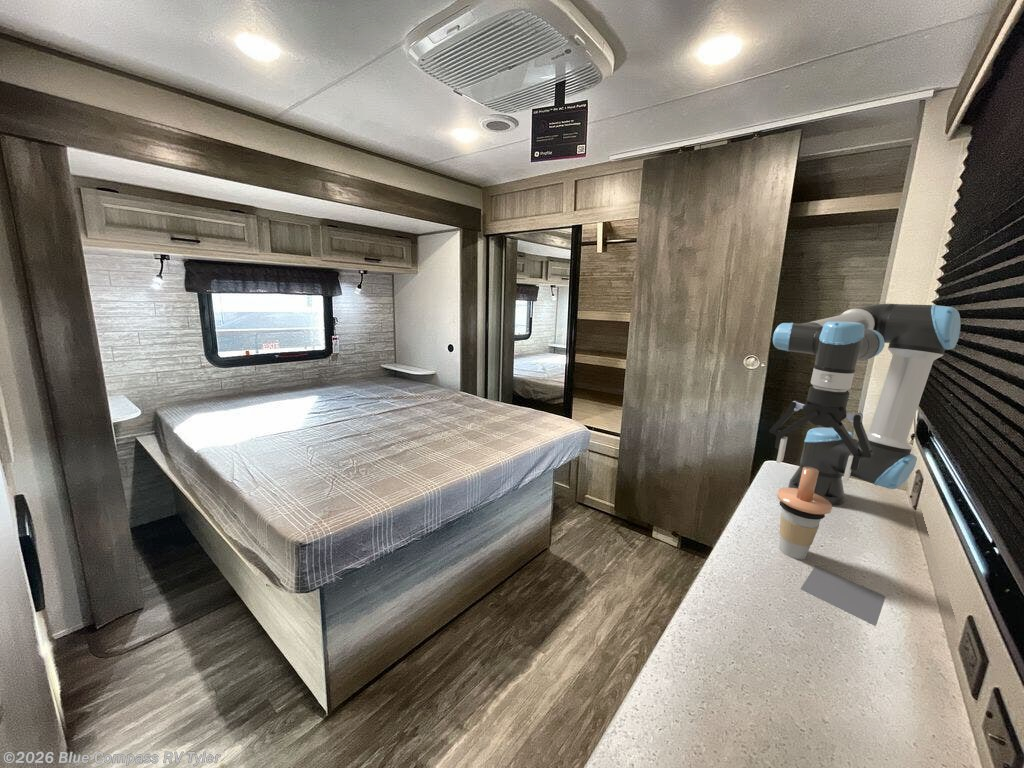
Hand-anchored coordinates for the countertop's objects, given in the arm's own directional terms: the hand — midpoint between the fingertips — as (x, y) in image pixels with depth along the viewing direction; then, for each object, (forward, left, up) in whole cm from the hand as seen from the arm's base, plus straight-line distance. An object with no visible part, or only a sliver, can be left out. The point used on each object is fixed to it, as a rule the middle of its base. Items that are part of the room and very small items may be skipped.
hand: (810, 470), depth 99 cm
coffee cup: (0, 0, -24) cm, 24 cm away
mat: (+8, +12, -23) cm, 28 cm away
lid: (0, 0, -8) cm, 9 cm away
